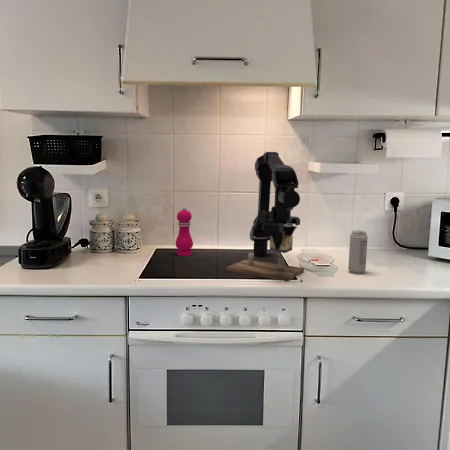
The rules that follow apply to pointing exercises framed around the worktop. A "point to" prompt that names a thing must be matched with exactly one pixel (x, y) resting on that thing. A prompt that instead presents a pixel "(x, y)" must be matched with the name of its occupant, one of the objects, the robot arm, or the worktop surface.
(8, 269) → the worktop surface
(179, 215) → the pepper mill
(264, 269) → the pin board
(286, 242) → the sleeve
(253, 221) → the robot arm
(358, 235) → the energy drink can
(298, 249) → the worktop surface
